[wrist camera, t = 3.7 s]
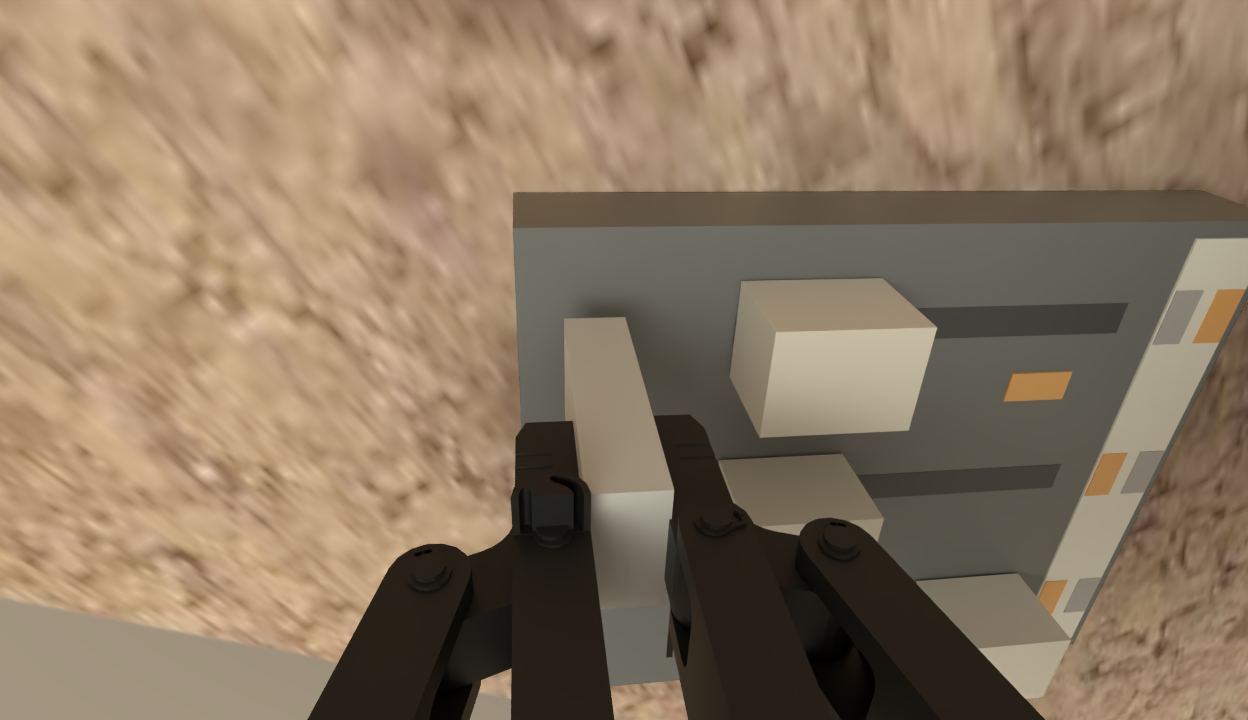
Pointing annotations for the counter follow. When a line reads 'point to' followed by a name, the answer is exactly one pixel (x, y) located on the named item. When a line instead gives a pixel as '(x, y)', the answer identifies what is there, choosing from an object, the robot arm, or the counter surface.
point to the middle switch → (800, 492)
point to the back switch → (1004, 626)
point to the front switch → (828, 356)
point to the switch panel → (957, 366)
